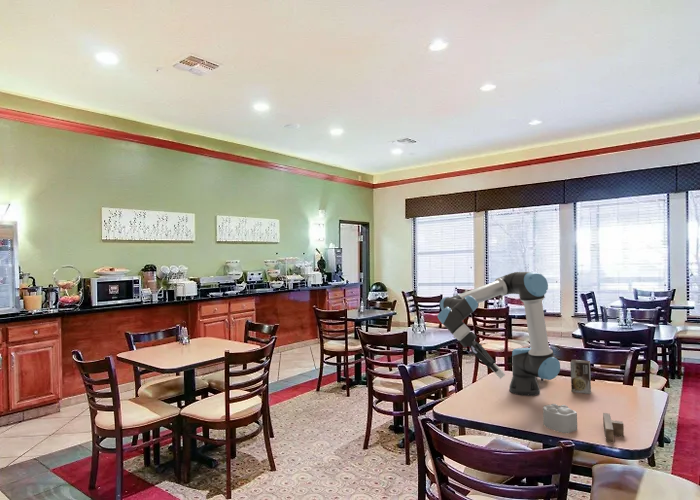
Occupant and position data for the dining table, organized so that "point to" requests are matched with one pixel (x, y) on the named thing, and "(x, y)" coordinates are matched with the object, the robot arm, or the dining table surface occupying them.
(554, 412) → the lumpy-topped squat cylinder
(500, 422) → the dining table surface
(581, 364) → the coffee box
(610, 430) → the t stop
